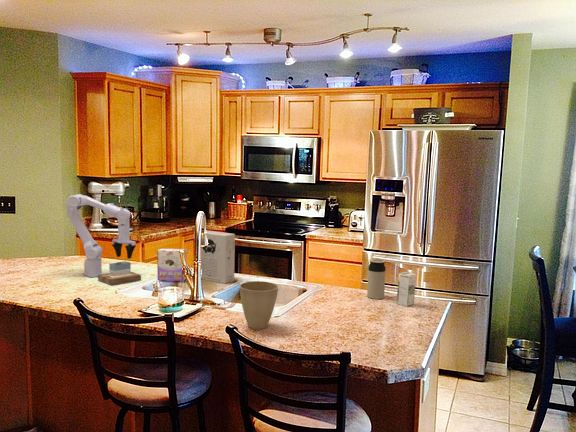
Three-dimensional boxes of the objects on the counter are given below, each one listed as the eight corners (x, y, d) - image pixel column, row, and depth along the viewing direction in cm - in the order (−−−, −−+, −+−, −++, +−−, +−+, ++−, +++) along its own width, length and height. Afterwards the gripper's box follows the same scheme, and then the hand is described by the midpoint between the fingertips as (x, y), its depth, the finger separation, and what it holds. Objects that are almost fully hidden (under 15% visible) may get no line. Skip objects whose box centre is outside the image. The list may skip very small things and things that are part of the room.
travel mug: (387, 297, 243) (389, 260, 241) (378, 300, 237) (379, 262, 235) (373, 294, 248) (374, 257, 246) (363, 297, 242) (365, 259, 240)
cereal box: (234, 281, 267) (235, 233, 264) (225, 283, 260) (225, 235, 258) (203, 275, 278) (203, 229, 275) (193, 277, 272) (193, 231, 269)
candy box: (186, 279, 266) (186, 248, 265) (183, 282, 261) (183, 250, 259) (160, 278, 268) (160, 247, 266) (157, 281, 262) (156, 249, 260)
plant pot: (246, 334, 187) (246, 292, 185) (233, 322, 200) (234, 282, 199) (283, 330, 193) (284, 289, 191) (269, 318, 206) (269, 279, 205)
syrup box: (403, 301, 236) (405, 271, 234) (414, 304, 232) (416, 273, 230) (396, 304, 232) (398, 272, 230) (407, 307, 228) (409, 275, 226)
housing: (125, 272, 266) (125, 261, 265) (130, 274, 262) (130, 262, 262) (109, 275, 259) (109, 263, 258) (114, 276, 256) (114, 265, 255)
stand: (98, 280, 260) (98, 274, 259) (126, 275, 271) (126, 270, 271) (112, 285, 250) (111, 279, 250) (140, 280, 262) (140, 274, 262)
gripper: (108, 231, 269) (108, 257, 270) (128, 234, 262) (128, 260, 264) (118, 230, 275) (118, 255, 276) (138, 232, 268) (138, 258, 270)
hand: (124, 257), depth 270 cm, fingers open, 7 cm apart
